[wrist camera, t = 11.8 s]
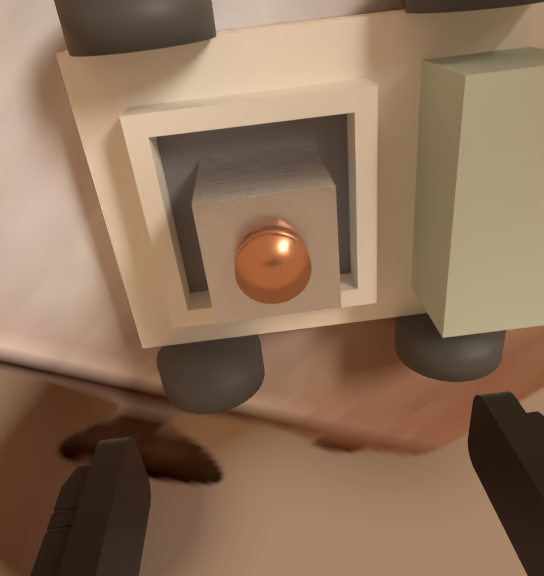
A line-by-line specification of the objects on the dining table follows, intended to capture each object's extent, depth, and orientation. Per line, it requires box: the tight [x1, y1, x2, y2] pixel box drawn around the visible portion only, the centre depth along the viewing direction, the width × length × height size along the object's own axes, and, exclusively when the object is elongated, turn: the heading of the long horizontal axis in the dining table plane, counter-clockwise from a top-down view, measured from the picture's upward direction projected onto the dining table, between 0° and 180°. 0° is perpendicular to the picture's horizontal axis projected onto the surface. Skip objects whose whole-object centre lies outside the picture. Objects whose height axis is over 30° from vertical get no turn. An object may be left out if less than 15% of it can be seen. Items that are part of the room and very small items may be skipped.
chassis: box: [54, 0, 544, 414], centre depth 24 cm, size 22×20×7 cm
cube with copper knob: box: [192, 145, 341, 324], centre depth 23 cm, size 6×6×7 cm
